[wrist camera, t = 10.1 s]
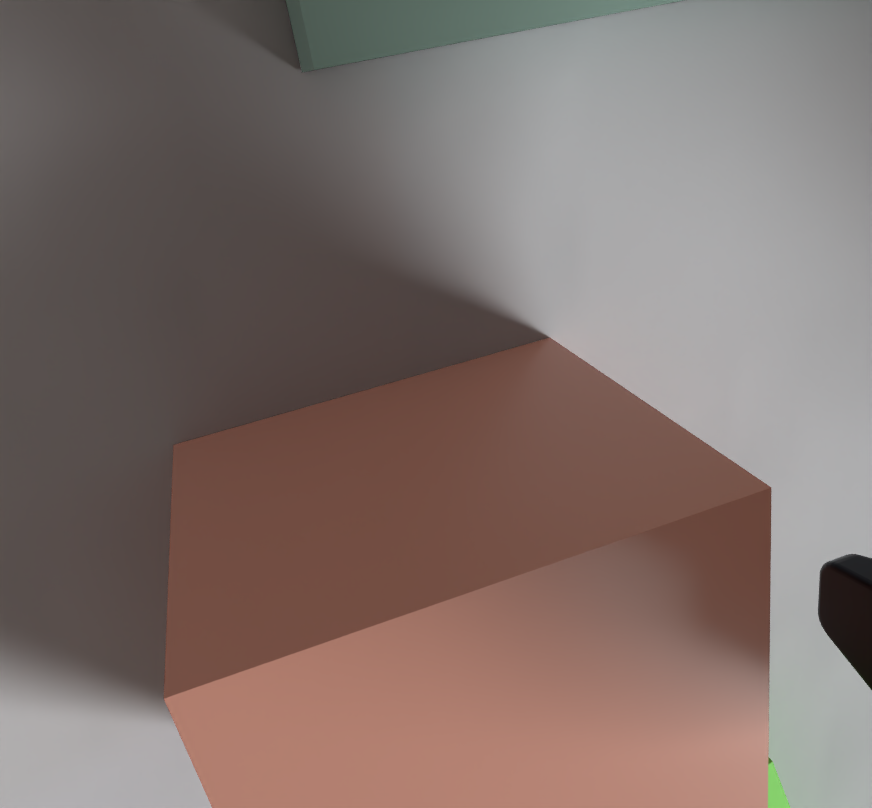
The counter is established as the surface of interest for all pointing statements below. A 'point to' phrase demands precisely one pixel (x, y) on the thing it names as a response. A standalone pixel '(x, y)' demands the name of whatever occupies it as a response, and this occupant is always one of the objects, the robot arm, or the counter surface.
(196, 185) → the counter surface
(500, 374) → the salmon pink brick
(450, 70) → the counter surface
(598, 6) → the base plate
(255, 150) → the counter surface
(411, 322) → the counter surface
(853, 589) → the robot arm
